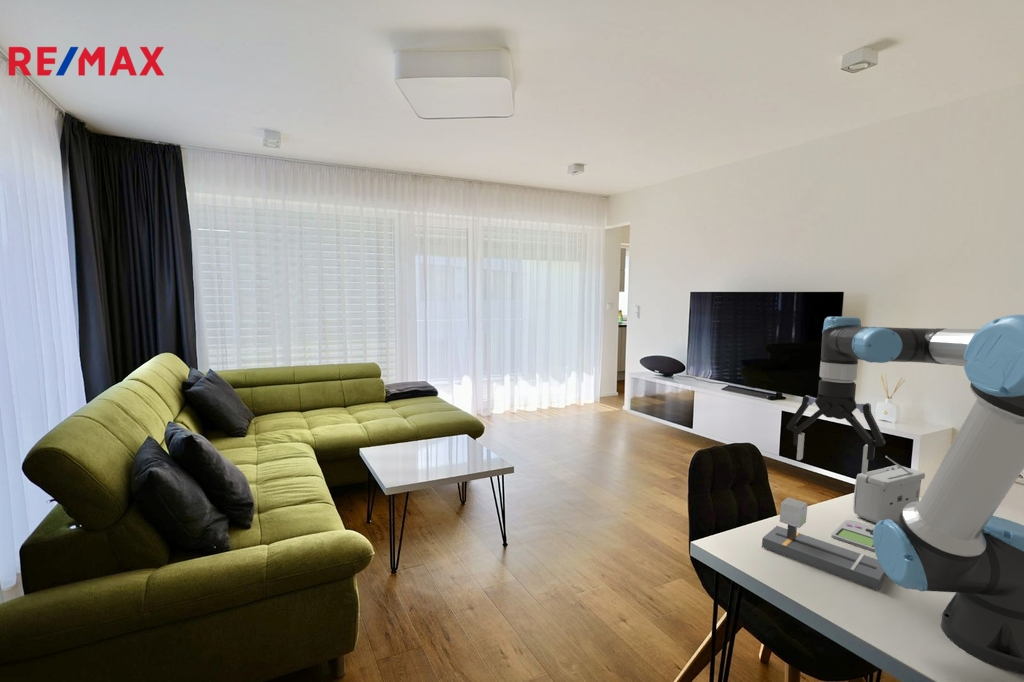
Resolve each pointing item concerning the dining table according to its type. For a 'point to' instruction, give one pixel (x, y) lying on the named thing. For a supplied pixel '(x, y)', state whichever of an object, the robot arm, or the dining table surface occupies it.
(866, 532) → the handheld gaming console
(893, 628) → the dining table surface
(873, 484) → the stereo radio cassette player
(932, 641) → the dining table surface
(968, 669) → the dining table surface
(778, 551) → the fader board
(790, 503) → the cap
